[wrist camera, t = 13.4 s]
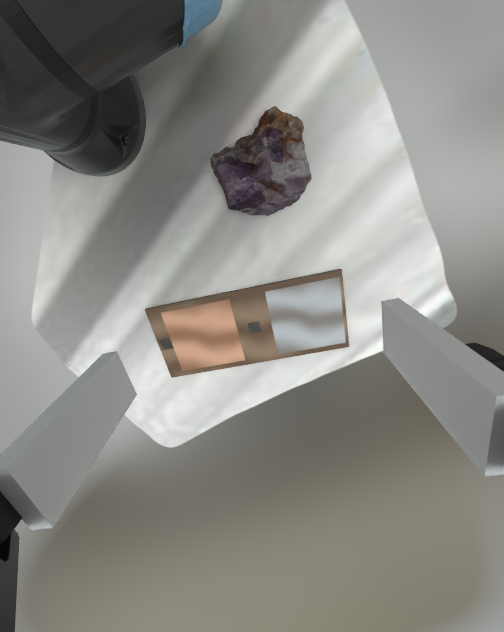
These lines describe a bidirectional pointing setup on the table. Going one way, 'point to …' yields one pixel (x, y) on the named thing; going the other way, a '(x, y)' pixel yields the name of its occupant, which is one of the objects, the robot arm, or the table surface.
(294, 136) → the rock
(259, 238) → the table surface
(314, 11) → the table surface
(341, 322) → the board
